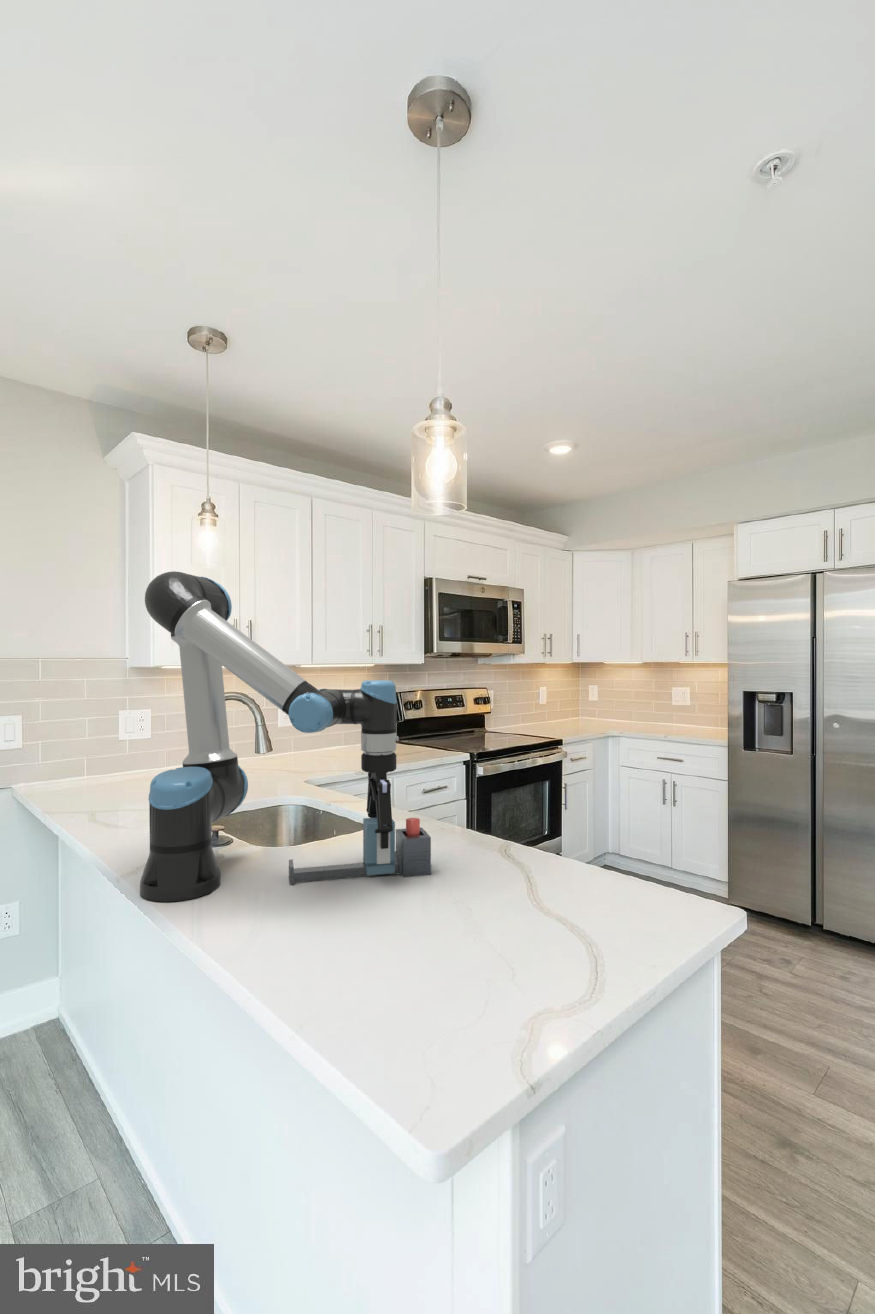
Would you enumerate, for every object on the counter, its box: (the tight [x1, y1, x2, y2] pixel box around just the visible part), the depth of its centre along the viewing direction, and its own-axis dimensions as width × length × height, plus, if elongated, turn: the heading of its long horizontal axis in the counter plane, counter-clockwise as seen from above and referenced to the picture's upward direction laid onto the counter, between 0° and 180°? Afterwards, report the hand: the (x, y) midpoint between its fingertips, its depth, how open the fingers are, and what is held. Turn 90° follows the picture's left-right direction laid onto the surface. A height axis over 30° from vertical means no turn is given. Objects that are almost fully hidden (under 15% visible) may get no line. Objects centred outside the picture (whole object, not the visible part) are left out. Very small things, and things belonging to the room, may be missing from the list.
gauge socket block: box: [395, 826, 432, 878], centre depth 140 cm, size 6×8×8 cm
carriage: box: [362, 817, 396, 876], centre depth 138 cm, size 6×5×11 cm
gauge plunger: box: [405, 817, 421, 836], centre depth 140 cm, size 3×3×6 cm
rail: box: [288, 850, 402, 886], centre depth 136 cm, size 24×5×4 cm, turn 105°
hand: (378, 855), depth 138 cm, fingers open, 10 cm apart
